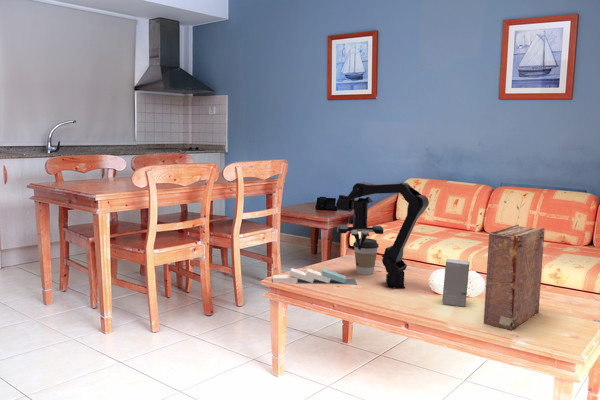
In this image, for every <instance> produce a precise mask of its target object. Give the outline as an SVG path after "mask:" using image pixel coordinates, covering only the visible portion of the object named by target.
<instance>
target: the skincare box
mask: <svg viewBox="0 0 600 400" xmlns="http://www.w3.org/2000/svg"><path fill="white" fill-rule="evenodd" d="M470 263H471V262H470V261H468V260H461V259H453V258H452V259H451V258H447V259H446V261H445V268H444V277H443V278H444V279H443V289H442V298H441V299H442V301H441V302H442V305H448V306H455V307H456V306H457V307H463V308H465V307H466V305H467V304H466V303H467V295H468V283H469V272H470Z"/></svg>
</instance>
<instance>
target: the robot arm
mask: <svg viewBox="0 0 600 400" xmlns="http://www.w3.org/2000/svg"><path fill="white" fill-rule="evenodd" d="M377 194H378V195H379V194H400V195H401V196H402V198H403V200H404V201H406V202H407V203H408V205H407V208H406V209H407V211H406V216H405V217H404V221H403V223H402V225H401V227H400V229H399V231H398V234H397V235H396V238H395V240H394V242H393V244H392V245H391V246H387V247H386V248H385V249H384V252H383V254H382V255H381V257H382V259H381V262H382V265H383V266H384V268H385V272H386V275H385V284H386V287H388V289H405V288H406V287H405V271H406V270H407V267H408V265H407V264H406V263H405V262H404V260H403V256H404V248H405V246H406V244H407V242H408V240H409V238H410V235H411V233H412V231H413V230H414V227H415V225H416V223H417V221H418V219H419V218H420V216H421V215H423V213H424V212H425V211H426V210H427V208H428V207H429V205H430V201H429V198H428V197H427V196H426V195H424V194H421V192H420V191H418V190H416V189H415V188H414V187H412V186H411V185H410V184H409V183H408V182H402V183H383V184H382V183H381V184H379V183H378V184H375V183H371V182H356V183H355V184H354V185H353V186H352V190H351V191H350V193H349V194H348V195H345V194H340V195H338V199H337V200H336V204H335V206H336V210H337V211H340V212H350V213H351V212H352V211H353V216H349V215H348V224H338V225H337V229H336V231H337V234H347V233H348V232H350V234H351V236H353V237H354V239H355V240H356V242H357V246H358V249H359V250H361V247H362V245H363V243H364V240H365V239H366V238H367V237H369V236H370V233H372V232H373V233H375V235H383V234H384V228H383V226H382V225H378V224H377V225H372V226H371V227H370V226H368V212H369V210H368V208H369V204H370V203H371V204H372V203H373V202H374V201H373V199H371V198H370V196H371V195H377ZM363 197H365V198H363ZM348 225H352V226H348ZM359 232H360V234H359ZM359 239H360V242H359Z"/></svg>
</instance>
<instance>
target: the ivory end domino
mask: <svg viewBox="0 0 600 400" xmlns="http://www.w3.org/2000/svg"><path fill="white" fill-rule="evenodd" d="M272 282H273V283H279V282H286V283H287V284H294V283H295V284H296V283H298V278H296V277H293V276H290V274H273V276H272Z"/></svg>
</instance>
